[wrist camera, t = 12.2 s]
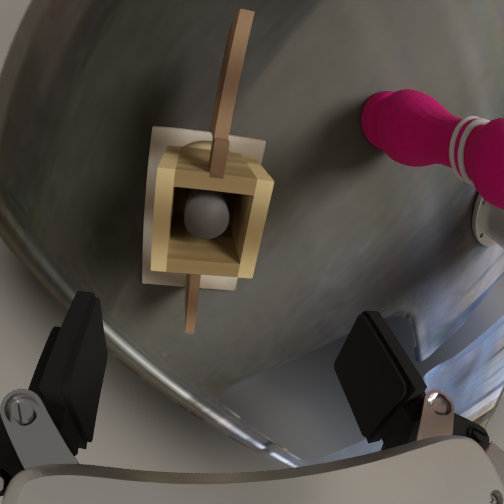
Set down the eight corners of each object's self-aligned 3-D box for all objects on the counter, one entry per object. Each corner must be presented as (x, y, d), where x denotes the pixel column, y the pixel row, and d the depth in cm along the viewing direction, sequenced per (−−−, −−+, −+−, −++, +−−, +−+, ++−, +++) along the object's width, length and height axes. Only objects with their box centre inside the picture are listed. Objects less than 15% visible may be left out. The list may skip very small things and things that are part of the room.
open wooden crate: (189, 22, 18) (187, -4, 12) (278, 37, 19) (309, 20, 13) (160, 224, 25) (150, 270, 19) (238, 231, 27) (252, 278, 21)
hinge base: (153, 125, 25) (130, 146, 16) (264, 140, 27) (298, 168, 19) (143, 278, 32) (130, 349, 24) (234, 286, 35) (249, 355, 26)
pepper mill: (361, 159, 30) (514, 260, 13) (350, 91, 26) (530, 132, 9) (415, 146, 30) (565, 226, 13) (408, 83, 26) (577, 124, 9)
